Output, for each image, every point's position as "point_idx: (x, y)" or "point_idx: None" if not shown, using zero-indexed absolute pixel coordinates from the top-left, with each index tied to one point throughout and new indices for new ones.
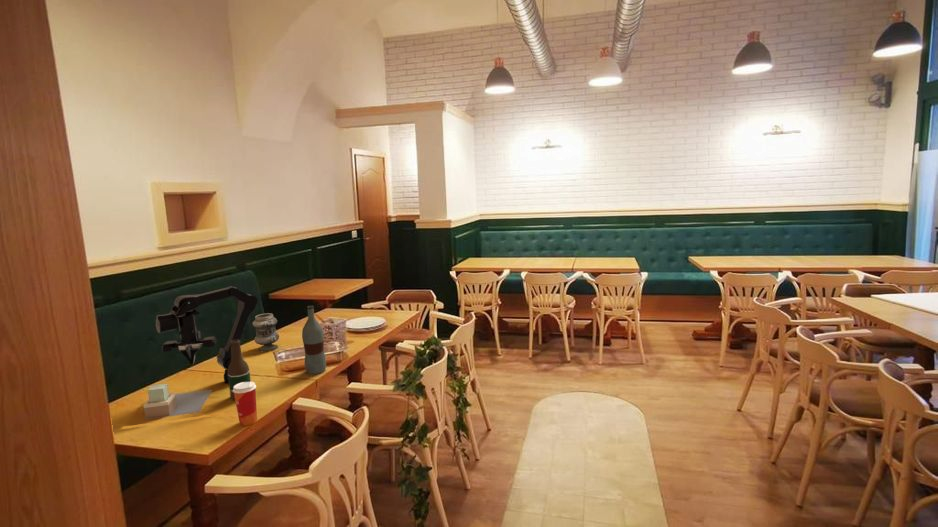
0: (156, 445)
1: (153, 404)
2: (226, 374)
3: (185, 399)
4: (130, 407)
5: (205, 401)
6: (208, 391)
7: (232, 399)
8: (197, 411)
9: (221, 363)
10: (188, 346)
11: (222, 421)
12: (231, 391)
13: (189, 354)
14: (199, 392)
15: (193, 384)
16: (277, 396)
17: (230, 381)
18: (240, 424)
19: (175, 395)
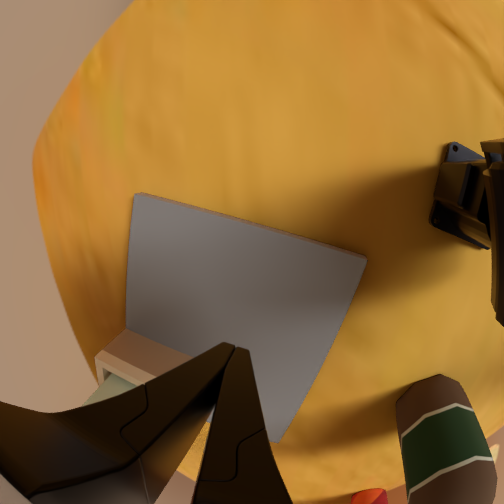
0: (195, 479)
1: None
2: (472, 219)
3: (230, 316)
4: (60, 225)
5: (310, 387)
6: (342, 280)
7: (396, 416)
8: (274, 438)
9: (501, 288)
10: (20, 493)
11: (326, 480)
12: (400, 442)
13: (160, 476)
14: (297, 263)
15: (267, 63)
16: (489, 419)
17: (406, 478)
18: (351, 499)
19: (180, 227)
